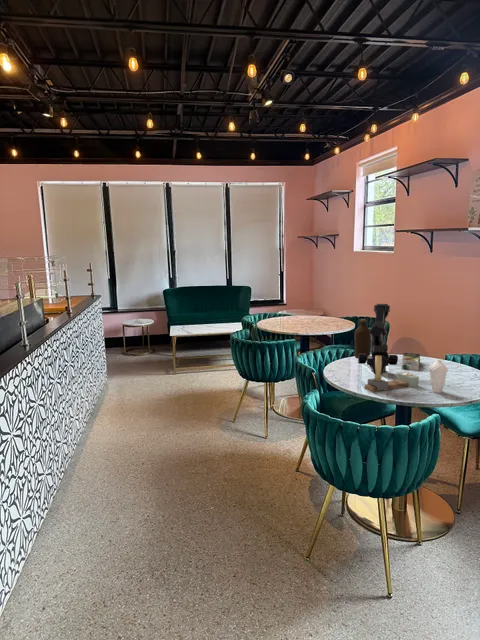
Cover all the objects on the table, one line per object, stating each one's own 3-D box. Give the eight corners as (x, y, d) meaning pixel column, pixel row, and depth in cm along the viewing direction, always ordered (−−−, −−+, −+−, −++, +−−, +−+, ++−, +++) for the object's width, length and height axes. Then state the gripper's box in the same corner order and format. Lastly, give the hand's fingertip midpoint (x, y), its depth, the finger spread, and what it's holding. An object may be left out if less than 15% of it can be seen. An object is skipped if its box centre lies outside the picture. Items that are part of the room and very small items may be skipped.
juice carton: (419, 371, 240) (419, 360, 239) (400, 369, 244) (401, 359, 243) (420, 363, 258) (420, 353, 257) (402, 362, 262) (403, 352, 261)
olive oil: (363, 360, 267) (364, 321, 263) (350, 357, 276) (351, 319, 272) (374, 357, 273) (375, 319, 269) (361, 354, 282) (362, 317, 278)
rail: (399, 383, 218) (399, 379, 218) (407, 386, 212) (407, 382, 212) (364, 388, 211) (364, 384, 210) (372, 392, 205) (372, 388, 205)
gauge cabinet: (404, 381, 221) (404, 370, 221) (418, 386, 212) (418, 375, 211) (396, 382, 220) (397, 371, 219) (410, 387, 210) (410, 376, 210)
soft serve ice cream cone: (445, 395, 198) (447, 362, 196) (426, 392, 202) (427, 360, 200) (447, 390, 205) (449, 358, 202) (429, 387, 209) (430, 356, 207)
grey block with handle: (377, 384, 214) (378, 353, 212) (388, 388, 207) (389, 356, 204) (367, 385, 212) (368, 354, 210) (378, 390, 205) (378, 358, 202)
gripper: (358, 338, 212) (359, 364, 203) (398, 339, 208) (400, 366, 199) (358, 349, 221) (358, 376, 212) (395, 351, 216) (397, 377, 207)
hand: (378, 374), depth 207 cm, fingers closed on grey block with handle, 3 cm apart
